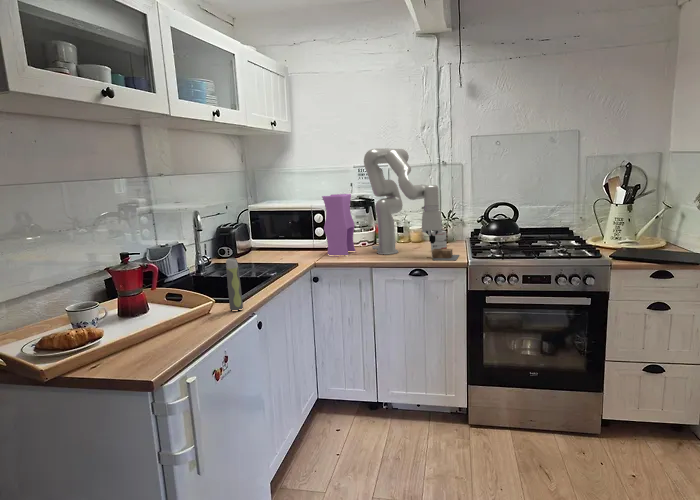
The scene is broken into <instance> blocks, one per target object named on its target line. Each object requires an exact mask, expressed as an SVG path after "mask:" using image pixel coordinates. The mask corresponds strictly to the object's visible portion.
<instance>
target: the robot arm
mask: <svg viewBox="0 0 700 500" xmlns="http://www.w3.org/2000/svg"><path fill="white" fill-rule="evenodd" d="M408 161H409V154H408V151H407V150H405V149H404V148H386V147H385V148H371V149H369V150H367V151H366V152H365V154H364V158H363V165H364V168H365V170H366V171H365V172H366V173H367V176H368V180H369V182H370V187H371V190H372V193H373V195H374V196H375V197H378V198H381V199H379V200H377V201H376V202H375V205H374V206H375V207H374V209H375V214H376V218H377V219H376V220H377V231H378V232H377V233H378V245H372V247H371V248H372V250H376V254H377V253H378V255H383V254H384V255H385V256H386V255H394V254H395V255H396V254H398V253H399V250H398V249H397V248H396V230H395V229H396V228H395V220H394V217H393V216H392V215H395V214H398V213H400V212H402V209H403V200H402V197H401V194H400V191H399V188H400V190H401V193H403V194H404V196H405V197H406V198H407V199H409V200H410V201H411V200H412V201H414V200H415V201H416V200H422V199H423V200H424V201H423V206H421V210H423V211H422V216H421V217H422V218H421V232H422V233H425V234H426V235H428V237H429V238H428V239H429V242H430V245H431V244H432V243H433V244H434V242H435V235H436V234H437V233H440V232H442V231H443V222H442V215H441V214H442V212H441V210H439V209H440V208H439V207H440V206H439V205H440V200H439V198H440V196H439V186H438V185H436V184H416V185H414V184H413V183H412V182H411V181H410V179H409V175H410V173H411V171H412V167H411V165H410V164H409V163H408ZM378 164H379V165H381V164H388V166H389V167H390V168H391V170H393V171H392V172H394V173H395V175H396V176H397V181H398V185H397V182H396V181H394V180H393V179H386V178H385V175H384V172H383V170H382V168H381V167H380V166H379V165H378ZM398 186H399V187H398ZM383 197H385V198H383ZM431 231H433V236H432V233H431Z"/></svg>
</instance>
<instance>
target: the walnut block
mask: <svg viewBox="0 0 700 500" xmlns="http://www.w3.org/2000/svg"><path fill="white" fill-rule="evenodd" d="M453 255H454V254H453V248H447V249H433V250H432V252H431V259H434V258H451V257H452V256H453Z"/></svg>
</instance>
